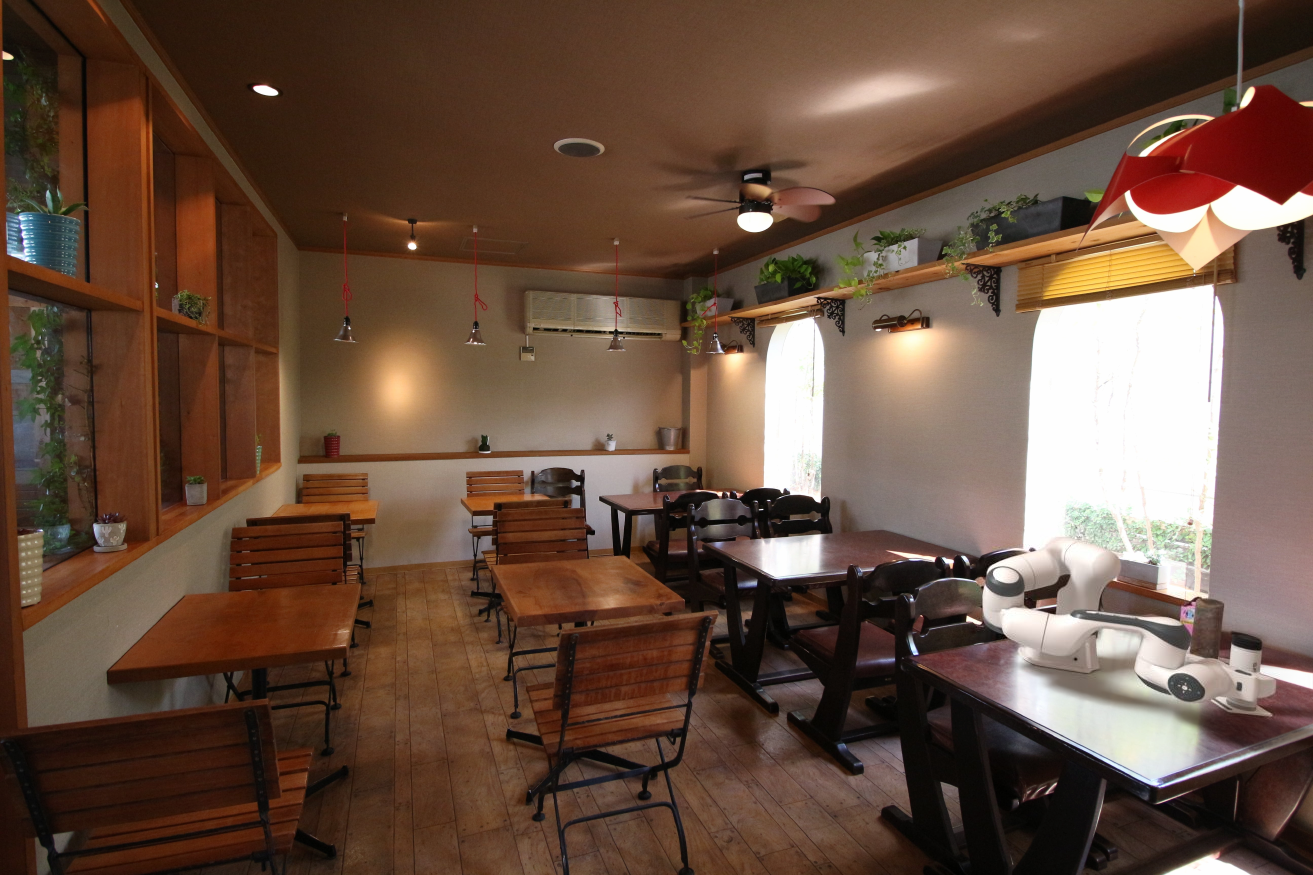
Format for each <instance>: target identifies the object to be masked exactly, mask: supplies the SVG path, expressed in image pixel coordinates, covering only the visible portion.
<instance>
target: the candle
mask: <svg viewBox="0 0 1313 875" xmlns="http://www.w3.org/2000/svg"><path fill="white" fill-rule="evenodd" d="M1220 601H1221V600H1219V599H1214V598H1208V597H1205V598H1204V597H1202V599H1201V598H1200V599H1197V600H1196V606H1195V614H1194V622H1193V630H1192V641H1191V645H1190V646H1189V654H1193V655H1196V656H1199V657H1203V658H1214V659H1218V660H1219V655H1220V647H1221V640H1222V639H1221V638H1222V637H1221V636H1222V629H1223V628H1222V627H1223V620H1224V611H1225V603H1224V602H1223V601H1222V602H1220Z"/></svg>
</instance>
